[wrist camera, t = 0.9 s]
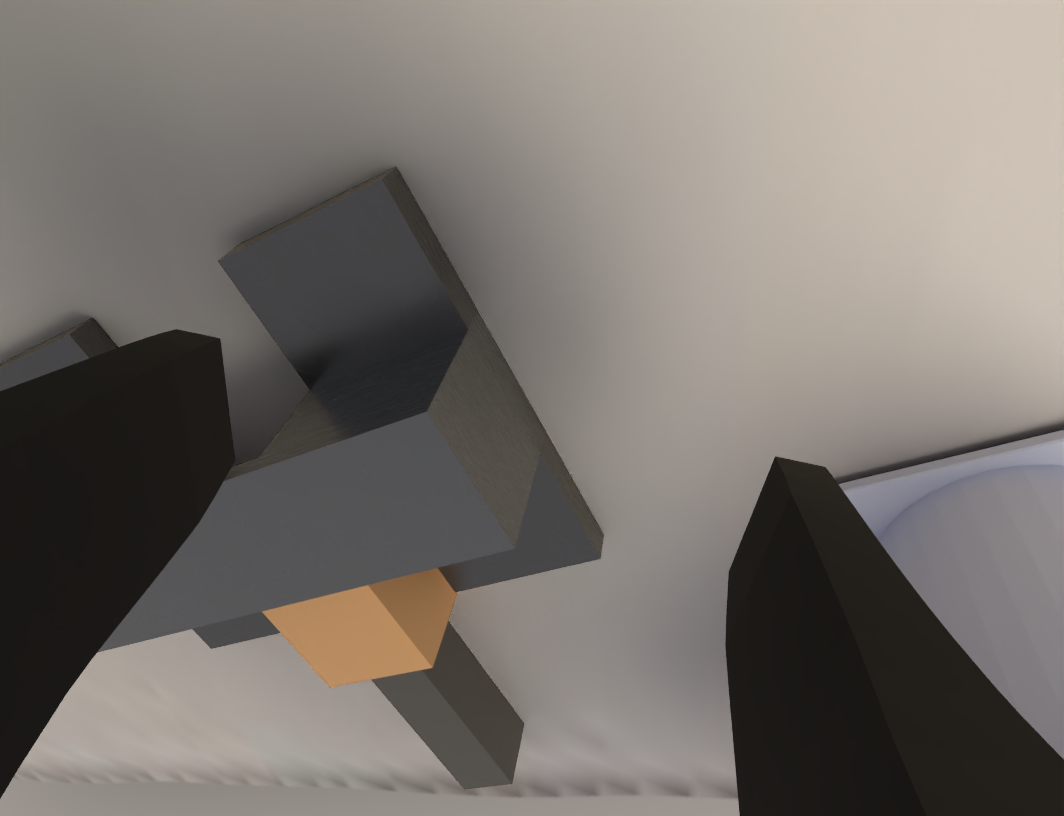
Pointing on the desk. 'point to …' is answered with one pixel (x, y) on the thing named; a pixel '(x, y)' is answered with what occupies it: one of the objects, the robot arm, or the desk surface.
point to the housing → (360, 433)
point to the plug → (412, 668)
